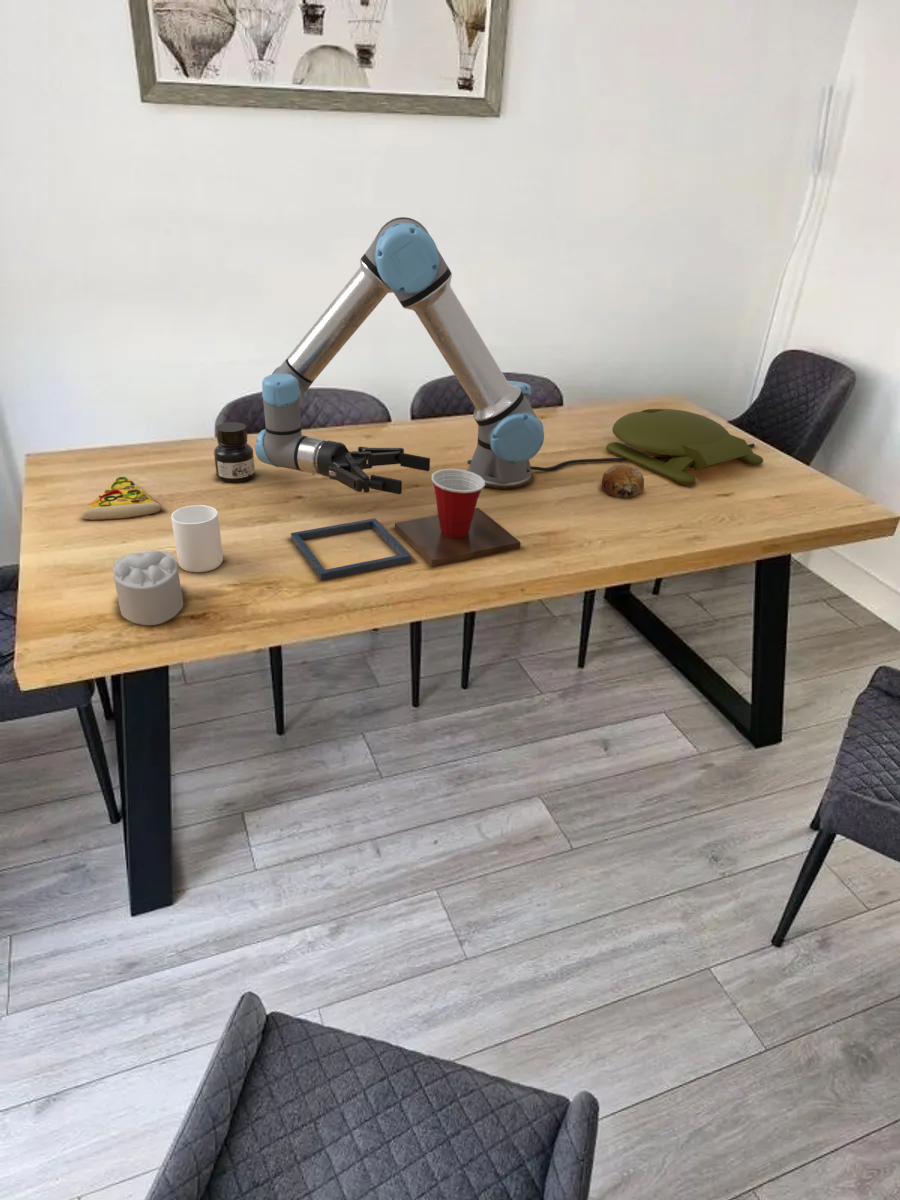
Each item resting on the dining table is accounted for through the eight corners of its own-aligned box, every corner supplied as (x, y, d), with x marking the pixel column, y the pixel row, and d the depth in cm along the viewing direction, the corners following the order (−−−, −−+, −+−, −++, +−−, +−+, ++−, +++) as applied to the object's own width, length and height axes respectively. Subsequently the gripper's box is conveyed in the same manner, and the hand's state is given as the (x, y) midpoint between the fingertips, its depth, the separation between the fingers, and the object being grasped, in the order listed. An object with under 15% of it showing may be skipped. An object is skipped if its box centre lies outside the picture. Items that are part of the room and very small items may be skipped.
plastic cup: (477, 547, 163) (480, 491, 157) (424, 540, 165) (425, 485, 159) (486, 524, 172) (489, 470, 166) (435, 518, 174) (437, 464, 168)
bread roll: (642, 503, 197) (650, 470, 196) (636, 500, 188) (644, 465, 187) (602, 495, 201) (610, 462, 200) (594, 491, 191) (602, 457, 190)
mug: (168, 550, 160) (160, 502, 155) (210, 542, 164) (204, 494, 159) (185, 577, 152) (177, 527, 146) (229, 567, 155) (223, 518, 150)
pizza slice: (83, 523, 169) (80, 509, 168) (86, 484, 186) (83, 472, 184) (161, 515, 174) (159, 502, 172) (158, 478, 191) (156, 466, 189)
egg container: (179, 583, 150) (172, 541, 145) (186, 619, 139) (180, 575, 135) (118, 592, 146) (110, 549, 142) (122, 630, 136) (112, 584, 132)
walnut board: (477, 513, 180) (478, 507, 180) (520, 548, 167) (520, 541, 166) (394, 529, 172) (394, 522, 171) (431, 567, 159) (431, 560, 158)
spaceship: (766, 465, 212) (775, 429, 207) (685, 489, 197) (692, 450, 192) (665, 426, 236) (671, 392, 231) (586, 444, 221) (590, 408, 216)
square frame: (375, 524, 174) (375, 518, 173) (411, 562, 160) (411, 555, 159) (291, 539, 166) (290, 532, 166) (321, 580, 153) (321, 573, 152)
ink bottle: (218, 485, 188) (212, 435, 182) (211, 471, 195) (205, 423, 189) (260, 480, 192) (256, 430, 186) (252, 467, 199) (248, 418, 193)
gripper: (353, 455, 185) (439, 472, 178) (293, 495, 165) (387, 515, 159) (352, 423, 181) (440, 439, 175) (291, 460, 161) (387, 479, 155)
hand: (415, 475), depth 167 cm, fingers open, 13 cm apart
